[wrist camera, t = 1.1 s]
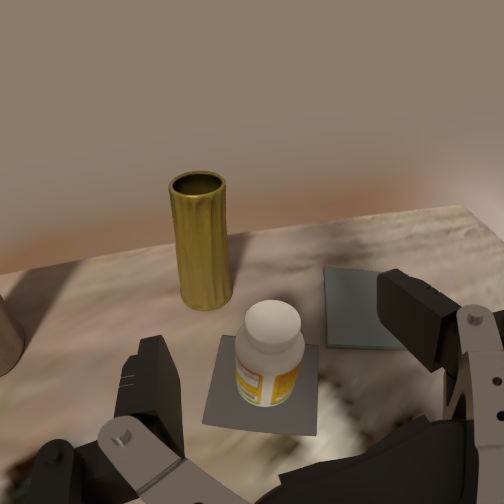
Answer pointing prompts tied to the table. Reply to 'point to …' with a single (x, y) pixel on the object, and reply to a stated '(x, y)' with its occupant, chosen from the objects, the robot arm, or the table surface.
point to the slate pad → (355, 311)
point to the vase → (201, 239)
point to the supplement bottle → (268, 353)
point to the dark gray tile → (255, 417)
